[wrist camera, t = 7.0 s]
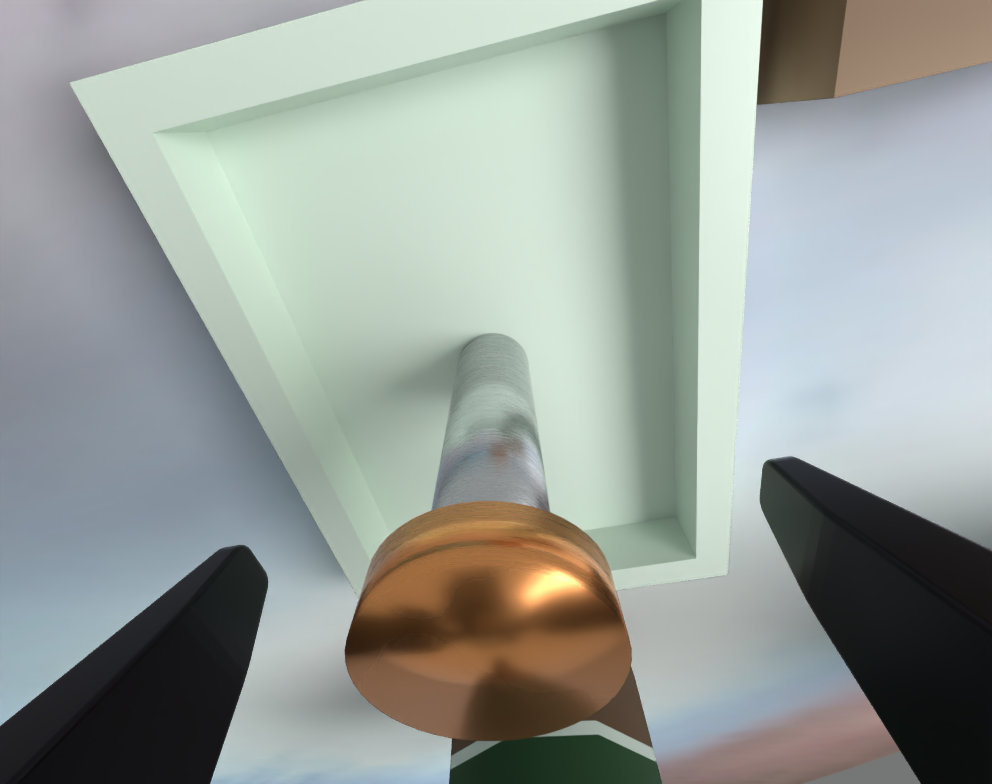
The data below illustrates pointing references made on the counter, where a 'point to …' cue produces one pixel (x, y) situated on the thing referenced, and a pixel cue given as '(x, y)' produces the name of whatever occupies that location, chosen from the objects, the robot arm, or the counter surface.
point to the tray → (469, 246)
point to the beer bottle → (568, 751)
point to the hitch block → (865, 44)
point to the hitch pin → (489, 582)
